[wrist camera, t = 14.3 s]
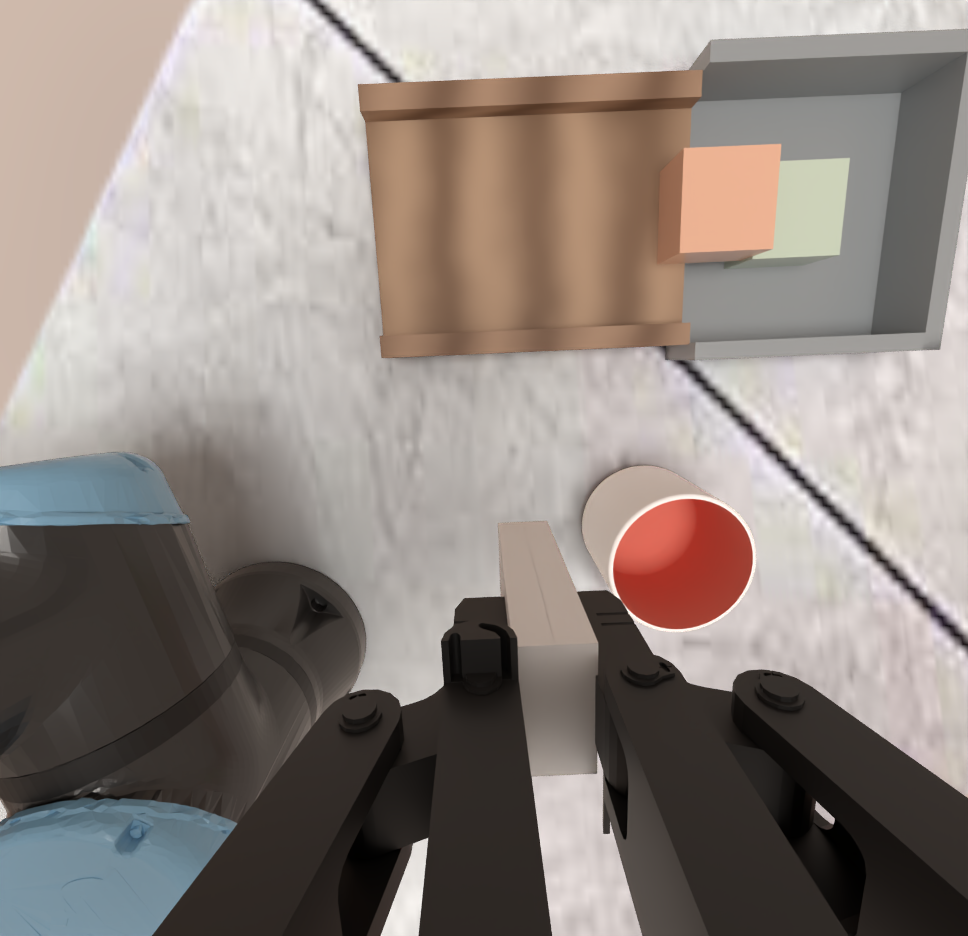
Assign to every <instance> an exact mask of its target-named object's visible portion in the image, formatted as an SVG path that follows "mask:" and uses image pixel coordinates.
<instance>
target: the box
mask: <svg viewBox="0 0 968 936" xmlns="http://www.w3.org/2000/svg"><path fill="white" fill-rule="evenodd" d="M689 70H703V75H702V96H701V98H700V99H699V100H698V101H697V102H696V104H695V105H694V106H693V107H692V110H691V133H690V148H696V147H719V146H742V145H765V144H781V156H780V161H793V160H815V159H837V158H850V162H849V172H848V181H847V190H846V199H845V209H844V218H843V227H842V237H841V246H840V255H838V256H834V257H831V258H827V259H824V260H820V261H817V262H813V263H810V264H806V265H802V266H783V267H761V268H739V269H724V262H703V263H685V267H684V289H683V312H682V323H690V344H687V345H670V346H666V358H665V360H711V359H734V358H757V357H780V356H803V355H825V354H848V353H871V352H894V351H917V350H939V349H940V346H941V340H942V334H943V327H944V321H945V315H946V308H947V302H948V296H949V289H950V283H951V277H952V270H953V264H954V258H955V251H956V245H957V239H958V232H959V226H960V220H961V213H962V207H963V201H964V194H965V188H966V182H967V175H968V29H953V30H929V31H906V32H882V33H859V34H835V35H812V36H788V37H765V38H741V39H718V40H711V41H710V42H709V43H708V45H707V46H706V47H705V49H704V50H703V51H702V53H701V54H700V55H699V57H698V58H697V60H696V61H695V62H694V64H693V65H692V66H691V68H690V69H689Z"/></svg>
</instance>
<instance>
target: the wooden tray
mask: <svg viewBox="0 0 968 936" xmlns="http://www.w3.org/2000/svg"><path fill="white" fill-rule="evenodd" d="M702 75H703V70H686V71H662V72H639V73H615V74H592V75H568V76H545V77H522V78H498V79H475V80H451V81H428V82H404V83H381V84H358V92H359V103H360V112H361V114H362V116H363V118H364V120H365V123H366V135H367V147H368V158H369V170H370V182H371V194H372V205H373V217H374V229H375V241H376V252H377V264H378V276H379V288H380V300H381V311H382V323H383V335H384V336H380V345H381V357H382V358H398V357H421V356H444V355H466V354H489V353H512V352H535V351H558V350H581V349H603V348H626V347H649V346H670V345H687V344H690V323H682V312H683V289H684V267H685V263H681V264H658V265H657V250H658V218H659V185H660V171H661V170H662V169H663V168H664V167H665V166H666V165H667V164H668V163H669V162H670V161H671V160H672V159H673V158H674V157H675V156H676V155H677V154H678V153H679V152H680V151H681V150H682V149H683V148H690V133H691V110H692V107H693V106H694V105H695V104H696V102H697V101H698V100H699V99H700V98H701V96H702Z"/></svg>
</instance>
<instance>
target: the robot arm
mask: <svg viewBox="0 0 968 936" xmlns="http://www.w3.org/2000/svg"><path fill="white" fill-rule="evenodd" d="M188 523H190V520H189V517H188V516H187V515H185V514H183V512H182V510H181V509H180V507H179V505H178V503H177V501H176V499H175V497H174V495H173V493H172V491H171V489H170V487H169V485H168V483H167V481H166V478H165V476H164V474H163V472H162V471H161V469H160V468H159V467H158V466H157V465H156V464H155V463H154V462H153V461H151V460H150V459H148V458H146V457H144V456H141V455H138V454H135V453H129V452H111V453H100V454H91V455H82V456H74V457H67V458H59V459H52V460H44V461H37V462H30V463H23V464H16V465H9V466H3V467H0V800H1V802H2V804H3V806H4V807H5V809H6V812H7V817H6V818H5V819H3V820H2V821H1V822H0V936H380V935H381V933H382V930H383V927H384V925H385V922H386V919H387V917H388V914H389V911H390V909H391V906H392V903H393V901H394V898H395V895H396V893H397V890H398V887H399V885H400V882H401V879H402V877H403V874H404V871H405V869H406V866H407V863H408V861H409V858H410V855H411V851H412V845H413V843H415V842H418V841H420V840H423V839H426V838H428V837H429V838H428V848H427V858H426V868H425V878H424V888H423V898H422V908H421V918H420V928H419V936H552V931H551V924H550V916H549V908H548V901H547V893H546V885H545V878H544V870H543V862H542V855H541V847H540V839H539V832H538V824H537V816H536V809H535V801H534V793H533V786H532V778H531V777H532V776H554V775H575V774H597V751H598V754H599V758H600V761H601V764H602V768H603V834H610V822H611V826H612V829H613V833H614V836H615V840H616V843H617V847H618V850H619V854H620V857H621V861H622V865H623V868H624V872H625V875H626V879H627V882H628V886H629V889H630V893H631V896H632V900H633V904H634V907H635V911H636V914H637V918H638V921H639V925H640V928H641V932H642V936H968V798H967V797H965V796H964V795H963V794H961V793H960V792H958V791H957V790H956V789H954V788H953V787H951V786H950V785H949V784H947V783H946V782H944V781H943V780H942V779H940V778H939V777H937V776H936V775H935V774H933V773H932V772H930V771H929V770H928V769H926V768H925V767H923V766H922V765H921V764H919V763H918V762H916V761H915V760H914V759H912V758H911V757H909V756H908V755H907V754H905V753H904V752H902V751H901V750H900V749H898V748H897V747H895V746H894V745H893V744H891V743H890V742H888V741H887V740H886V739H884V738H883V737H881V736H880V735H879V734H877V733H876V732H874V731H873V730H872V729H870V728H869V727H867V726H866V725H865V724H863V723H862V722H860V721H859V720H857V719H856V718H855V717H853V716H852V715H850V714H849V713H848V712H846V711H845V710H843V709H842V708H841V707H839V706H838V705H836V704H835V703H834V702H832V701H831V700H829V699H828V698H827V697H825V696H824V695H822V694H821V693H820V692H818V691H817V690H815V689H814V688H813V687H811V686H809V685H808V684H806V683H804V682H802V681H800V680H799V679H797V678H795V677H792V676H789V675H786V674H783V673H781V672H776V671H770V670H749V671H746V672H744V673H741V674H739V675H737V677H736V679H735V680H734V682H733V690H732V692H730V691H724V690H718V689H712V688H706V687H701V686H697V685H693V684H690V683H687V682H686V680H685V678H684V677H683V675H682V674H681V672H680V671H679V670H678V669H677V668H676V667H675V666H674V665H673V664H672V663H671V662H669V661H667V660H665V659H663V658H662V657H660V656H656V655H653V653H652V652H651V650H650V648H649V646H648V645H647V643H646V641H645V640H644V638H643V636H642V635H641V633H640V631H639V630H638V628H637V626H636V624H634V621H633V619H632V618H631V616H630V614H628V611H627V609H626V607H625V606H624V604H623V602H622V601H621V600H620V599H619V598H617V597H616V596H614V595H613V594H611V593H610V592H609V591H607V590H604V591H581V592H577V591H576V589H575V586H574V584H573V582H572V579H571V577H570V575H569V572H568V570H567V567H566V565H565V563H564V560H563V558H562V555H561V553H560V551H559V548H558V546H557V544H556V541H555V539H554V536H553V534H552V532H551V529H550V527H549V525H548V522H547V521H533V522H510V523H498V537H499V563H500V589H501V597H482V598H464V599H463V601H462V602H461V603H460V604H459V605H458V606H457V608H456V609H455V616H454V626H453V627H452V628H451V629H449V630H448V631H447V632H446V633H445V634H444V636H443V638H442V640H441V648H442V662H443V677H444V686H443V687H442V688H441V689H440V690H439V691H437V692H436V693H435V694H433V695H432V696H430V697H428V698H426V699H424V700H421V701H418V702H416V703H412V704H409V705H405V706H402V707H400V703H399V700H398V699H396V698H395V697H394V696H393V695H392V694H391V693H388V692H384V691H381V690H361V691H357V692H354V693H350V691H351V690H352V688H353V686H354V684H355V682H356V680H357V677H358V675H359V672H360V669H361V667H362V664H363V661H364V657H365V651H366V635H365V629H364V625H363V622H362V619H361V616H360V614H359V612H358V610H357V608H356V606H355V605H354V603H353V602H352V600H351V599H350V598H349V596H348V595H347V594H346V593H345V592H344V591H343V590H342V589H341V588H340V587H339V586H338V585H337V584H336V583H334V582H333V581H332V580H330V579H329V578H327V577H326V576H324V575H322V574H320V573H318V572H316V571H314V570H312V569H309V568H307V567H304V566H300V565H296V564H291V563H283V562H268V563H260V564H255V565H251V566H248V567H245V568H242V569H240V570H238V571H236V572H234V573H232V574H230V575H229V576H227V577H226V578H225V579H223V580H222V581H221V582H220V583H219V584H217V585H216V586H215V587H213V585H212V582H211V580H210V578H209V575H208V573H207V571H206V568H205V566H204V563H203V561H202V558H201V556H200V553H199V551H198V548H197V546H196V543H195V541H194V538H193V535H192V533H191V530H190V528H189V525H188ZM349 693H350V694H349ZM816 801H817V802H818V803H819V804H820V805H821V806H822V807H823V808H824V809H825V810H826V811H827V812H829V813H830V814H831V815H832V816H833V817H834V818H835V822H834V825H833V824H830V823H829V822H828V821H827V820H825V819H824V818H823V817H822V816H821V815H820V814H819V813H818V812H817V811H816V810H815V804H816Z"/></svg>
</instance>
